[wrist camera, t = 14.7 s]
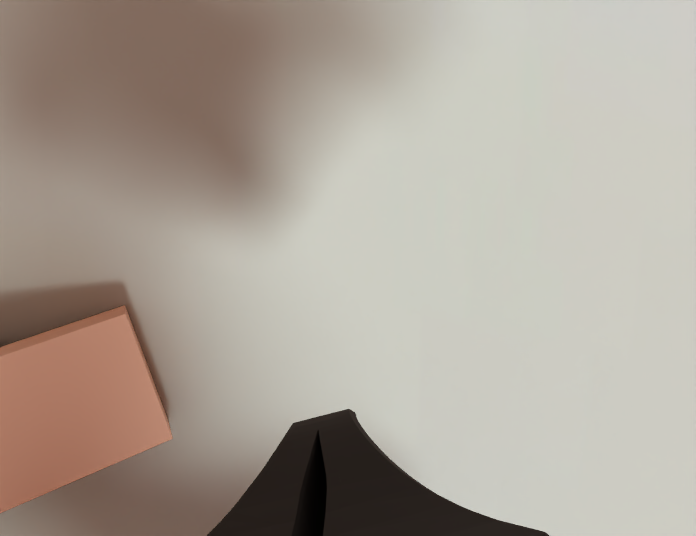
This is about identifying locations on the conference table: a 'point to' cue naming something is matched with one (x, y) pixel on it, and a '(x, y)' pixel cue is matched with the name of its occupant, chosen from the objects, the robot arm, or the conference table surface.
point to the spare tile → (74, 405)
